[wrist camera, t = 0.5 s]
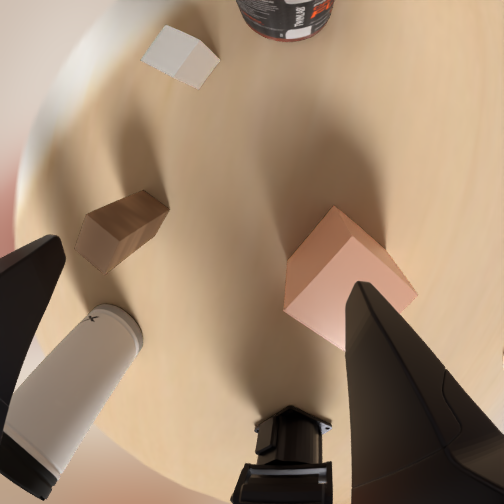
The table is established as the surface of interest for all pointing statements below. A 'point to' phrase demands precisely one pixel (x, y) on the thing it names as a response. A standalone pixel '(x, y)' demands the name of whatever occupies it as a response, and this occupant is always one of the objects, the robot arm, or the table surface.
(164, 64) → the white block
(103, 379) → the travel mug
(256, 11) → the supplement bottle
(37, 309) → the robot arm
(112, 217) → the post
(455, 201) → the table surface
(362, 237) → the pink foam cube
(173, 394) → the table surface
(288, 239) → the table surface
